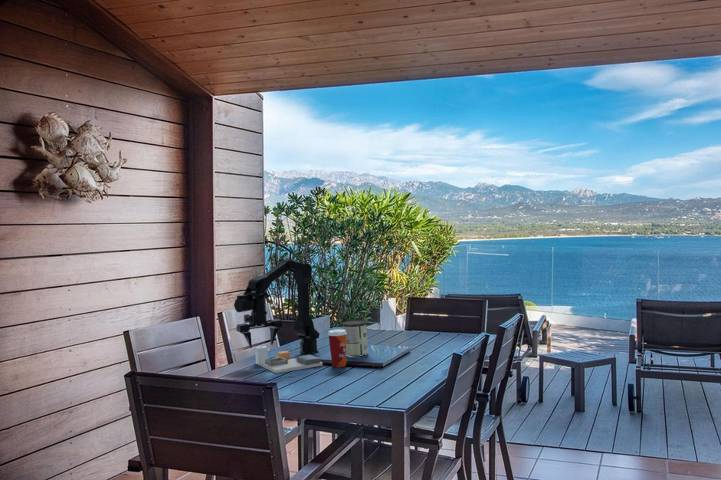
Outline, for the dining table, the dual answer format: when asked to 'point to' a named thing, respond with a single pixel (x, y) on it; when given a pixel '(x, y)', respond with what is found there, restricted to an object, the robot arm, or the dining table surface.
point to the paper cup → (338, 347)
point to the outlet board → (286, 365)
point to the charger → (261, 354)
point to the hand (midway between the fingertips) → (261, 346)
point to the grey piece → (308, 359)
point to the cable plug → (283, 355)
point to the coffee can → (356, 337)
